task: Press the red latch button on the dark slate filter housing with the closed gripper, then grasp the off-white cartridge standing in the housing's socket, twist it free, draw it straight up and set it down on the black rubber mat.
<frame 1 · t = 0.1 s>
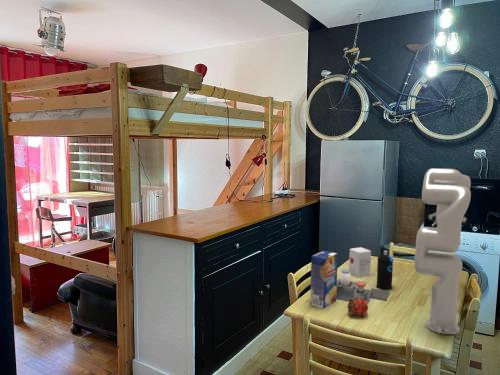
hand: (446, 232, 192), 31 cm above the table, fingers open, 9 cm apart
plunger: (360, 287, 182), point 7 cm above the table, slide at 0.0 cm
dragon fruit: (358, 314, 169), on the table
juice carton: (323, 303, 181), on the table
housing: (351, 296, 188), on the table
cartridge: (344, 289, 193), point 2 cm above the table, touching housing
mat: (378, 294, 190), on the table
supplement box: (359, 274, 221), on the table
aerosol can: (384, 287, 201), on the table
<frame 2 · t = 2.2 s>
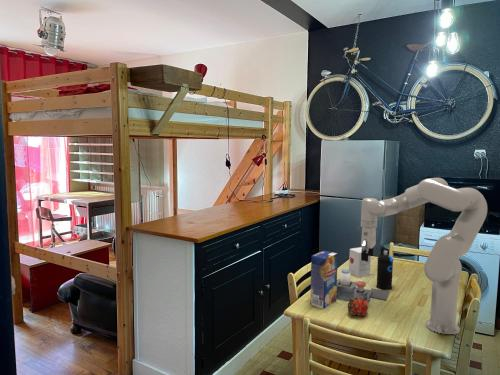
hand: (367, 258, 182), 21 cm above the table, fingers open, 9 cm apart
nothing on the table moved.
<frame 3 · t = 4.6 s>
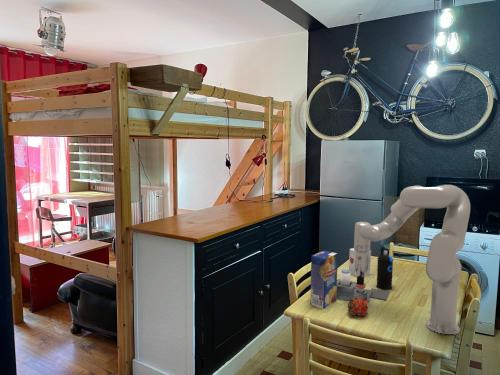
hand: (360, 284, 182), 9 cm above the table, fingers closed
plunger: (360, 288, 182), point 6 cm above the table, slide at 0.7 cm, touching gripper
everything else where it was.
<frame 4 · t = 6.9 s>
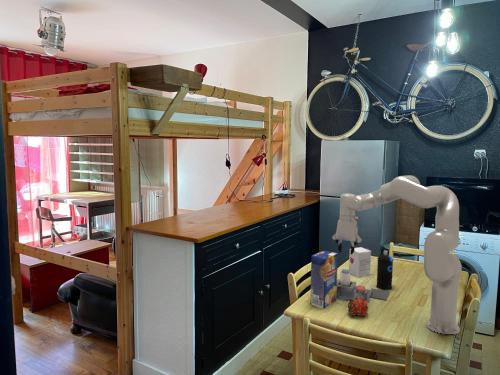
hand: (346, 252, 190), 21 cm above the table, fingers open, 5 cm apart
plunger: (360, 291, 182), point 5 cm above the table, slide at 2.2 cm
everything else where it was.
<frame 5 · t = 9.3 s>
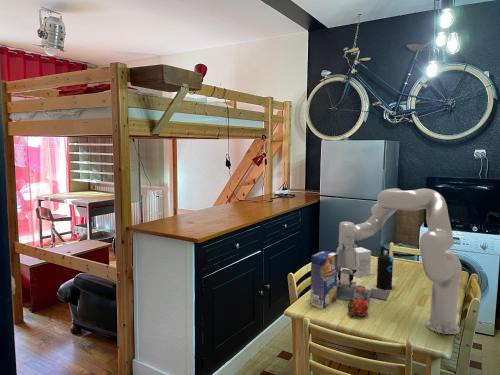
hand: (345, 280, 192), 7 cm above the table, fingers closed on cartridge, 5 cm apart
cartridge: (344, 289, 193), point 2 cm above the table, touching gripper, housing
everything else where it was.
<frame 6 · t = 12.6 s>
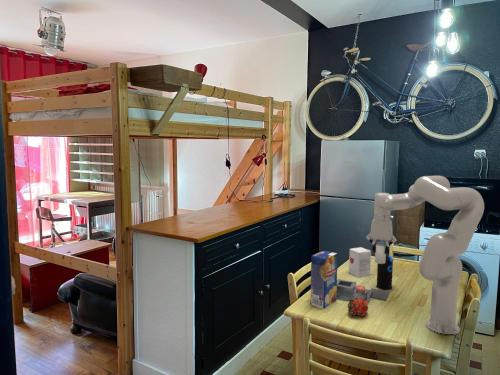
hand: (380, 252, 188), 22 cm above the table, fingers closed on cartridge, 5 cm apart
cartridge: (380, 262, 188), point 17 cm above the table, touching gripper
everything else where it was.
when the fingers open (7 cm above the table, at t = 15.9 s): cartridge drops 1 cm, resting on mat.
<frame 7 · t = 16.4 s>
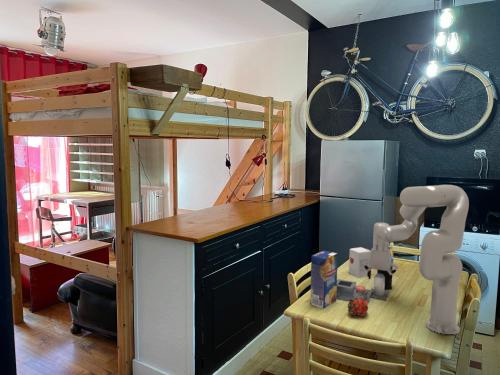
hand: (379, 280, 190), 8 cm above the table, fingers open, 9 cm apart
cartridge: (378, 293, 190), point 1 cm above the table, touching mat
everything else where it was.
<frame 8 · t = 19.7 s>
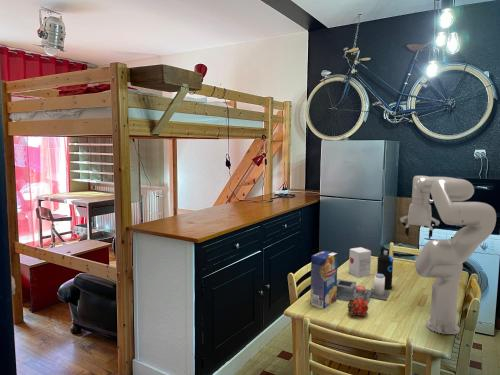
hand: (418, 236, 179), 32 cm above the table, fingers open, 9 cm apart
nothing on the table moved.
at the end: plunger slide at 2.2 cm; cartridge inside the target area on the mat (0.1 cm from its centre), point 0.6 cm above the mat's base; cartridge tilted 0° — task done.
